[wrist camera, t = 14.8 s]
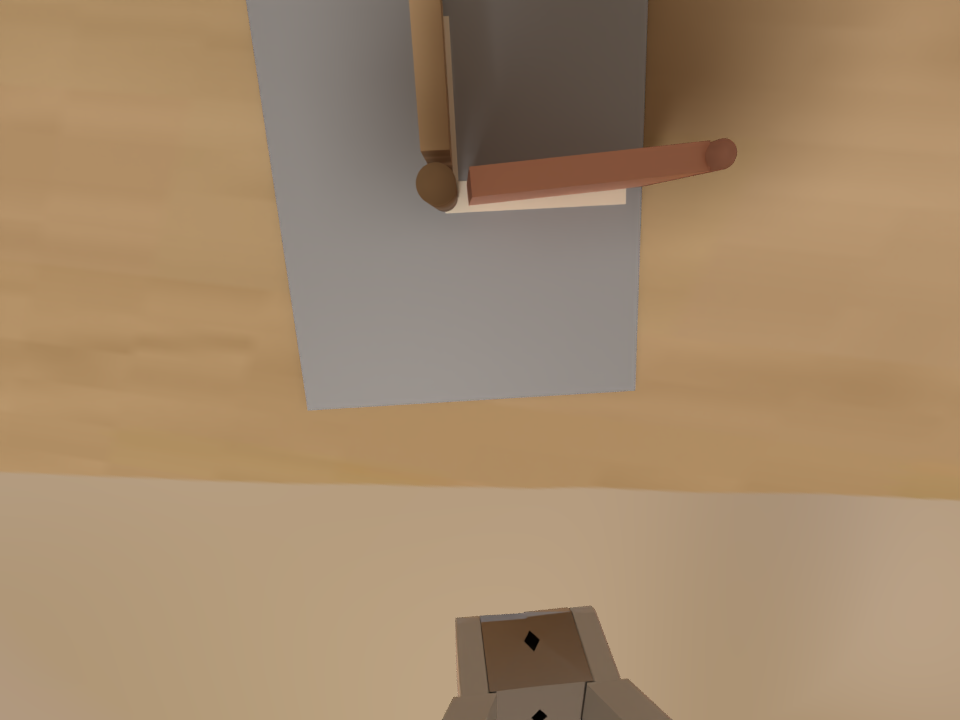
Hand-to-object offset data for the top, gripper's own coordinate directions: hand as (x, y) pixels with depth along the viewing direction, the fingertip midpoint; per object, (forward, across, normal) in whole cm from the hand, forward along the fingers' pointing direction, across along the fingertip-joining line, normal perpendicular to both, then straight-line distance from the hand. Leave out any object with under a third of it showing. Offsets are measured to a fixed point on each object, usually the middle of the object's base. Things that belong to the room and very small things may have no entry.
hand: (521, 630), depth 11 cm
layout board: (+24, 0, -5) cm, 25 cm away
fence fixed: (+25, +1, -11) cm, 28 cm away
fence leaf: (+24, -6, -7) cm, 26 cm away
